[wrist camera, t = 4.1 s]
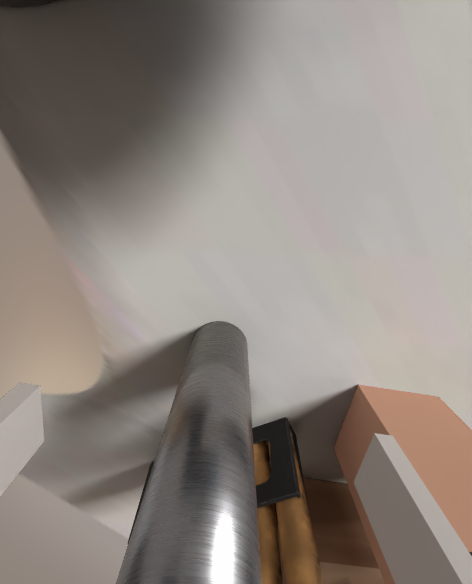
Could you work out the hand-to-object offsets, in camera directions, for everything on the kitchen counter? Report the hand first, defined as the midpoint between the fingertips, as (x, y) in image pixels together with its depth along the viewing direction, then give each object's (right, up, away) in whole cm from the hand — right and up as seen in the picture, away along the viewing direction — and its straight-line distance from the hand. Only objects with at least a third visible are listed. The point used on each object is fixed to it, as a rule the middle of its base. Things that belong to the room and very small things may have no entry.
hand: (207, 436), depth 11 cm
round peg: (0, +2, +6) cm, 6 cm away
